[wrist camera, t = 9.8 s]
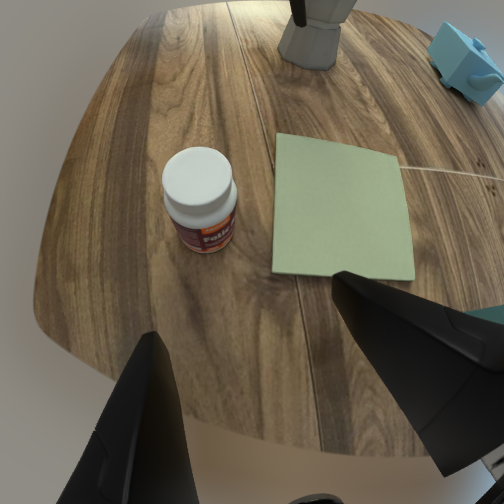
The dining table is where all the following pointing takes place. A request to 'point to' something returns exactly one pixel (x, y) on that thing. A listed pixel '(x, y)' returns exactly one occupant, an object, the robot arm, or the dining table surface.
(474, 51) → the teapot
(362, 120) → the dining table surface
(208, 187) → the pill bottle
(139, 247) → the dining table surface
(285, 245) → the mat
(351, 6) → the coffee maker
